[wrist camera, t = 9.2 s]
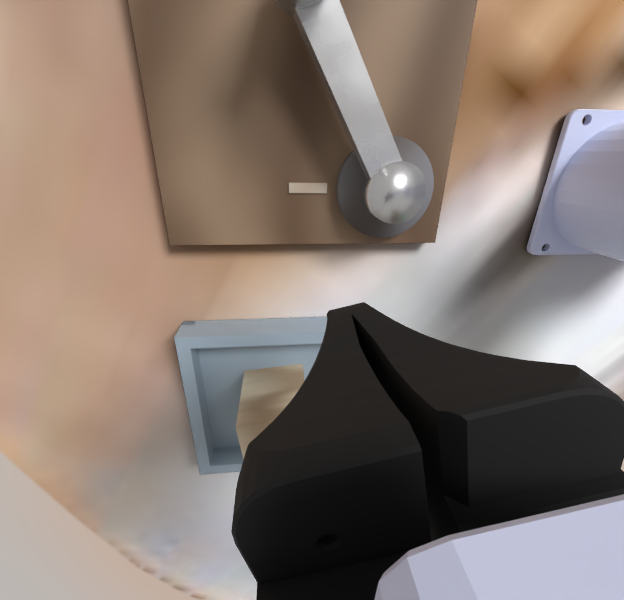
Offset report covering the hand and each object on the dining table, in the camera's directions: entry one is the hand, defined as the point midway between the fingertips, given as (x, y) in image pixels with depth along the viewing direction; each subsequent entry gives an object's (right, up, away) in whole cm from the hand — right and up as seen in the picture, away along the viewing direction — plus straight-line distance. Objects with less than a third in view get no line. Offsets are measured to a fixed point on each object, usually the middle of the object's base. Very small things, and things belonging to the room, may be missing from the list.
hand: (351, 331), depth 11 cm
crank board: (-2, +11, +5) cm, 12 cm away
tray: (-4, -5, +12) cm, 14 cm away
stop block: (-4, -5, +12) cm, 13 cm away
